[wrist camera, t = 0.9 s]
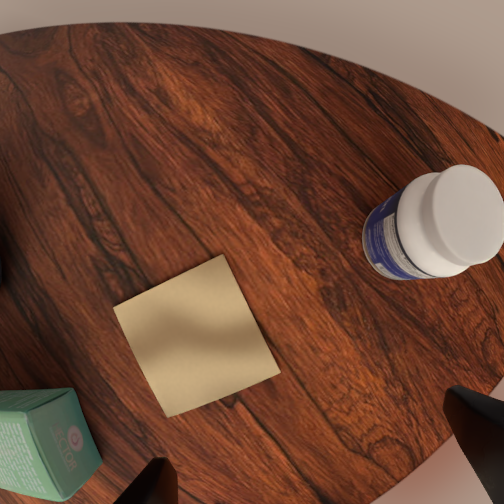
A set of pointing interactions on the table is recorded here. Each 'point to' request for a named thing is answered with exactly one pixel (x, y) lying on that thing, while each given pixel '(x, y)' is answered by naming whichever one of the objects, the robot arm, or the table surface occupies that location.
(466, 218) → the pill bottle
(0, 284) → the decorative stone
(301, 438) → the table surface
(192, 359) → the sticky note
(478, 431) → the robot arm
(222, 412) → the table surface
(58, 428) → the box
